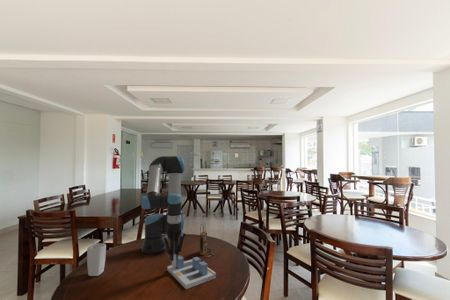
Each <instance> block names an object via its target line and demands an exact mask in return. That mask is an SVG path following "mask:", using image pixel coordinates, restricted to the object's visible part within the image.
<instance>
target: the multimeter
mask: <svg viewBox="0 0 450 300" xmlns="http://www.w3.org/2000/svg"><path fill="white" fill-rule="evenodd" d="M205 226H207V225H206V222H204V223H202V225H200V231H199V232H200V234H199V255H200V256H201V257H202V258H203V259H206V258H208V257H211V256H212V255H214V256H215V254H214V253H212V252H211V251H212V250H211V249H210V248H207V247H208V232H207V231H206V229H205ZM201 228H202V229H201ZM201 230H202V231H201ZM208 250H209V251H208ZM207 251H208V253H210V254H211V255H207V256H206V257H205V256H204V255H205V254H206V252H207Z"/></svg>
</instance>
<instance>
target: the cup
mask: <svg viewBox="0 0 450 300" xmlns="http://www.w3.org/2000/svg"><path fill="white" fill-rule="evenodd" d="M86 250H87V252H86V261H87V264H86V265H87V275H88V276H89V277H99V276H100V275H102V274H103V272H104V270H105V264H106V257H107V256H106V255H107V254H106V253H107V252H106V251H107V244H106V243H94V244H92V245H89V246H88V247H87V248H86Z"/></svg>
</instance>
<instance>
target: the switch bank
mask: <svg viewBox="0 0 450 300" xmlns="http://www.w3.org/2000/svg"><path fill="white" fill-rule="evenodd" d="M166 267H167V269H166V270H167V271H168V273H169V274H170V275H171V276H173V278H174V279H175V280H176V281H177V282H178V283H180V284H179V285H181V286H182V287H183V288H184V289H185V290H188V289H191V288H193V287H196V286H199V285H201V284H204V283H206V282H209V281H212V280H215V279H216V278H217V274H216V273H217V272H215V271H214V270H213V269H211V268H209V267H208V274H206V275H203V276H202V275H201V274H200V273H199V269H198V270H195V269H194V268H193V267H192V259H189V260H184V267H183V268H179V269H178V268H177V267H173V266H172V264H170V265H168V266H166Z"/></svg>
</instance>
